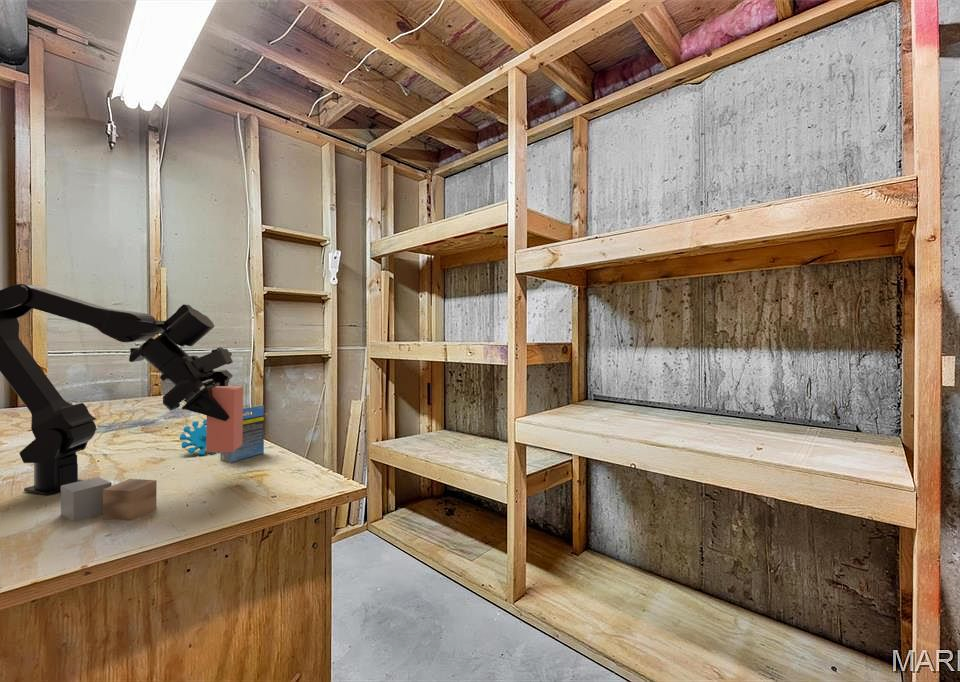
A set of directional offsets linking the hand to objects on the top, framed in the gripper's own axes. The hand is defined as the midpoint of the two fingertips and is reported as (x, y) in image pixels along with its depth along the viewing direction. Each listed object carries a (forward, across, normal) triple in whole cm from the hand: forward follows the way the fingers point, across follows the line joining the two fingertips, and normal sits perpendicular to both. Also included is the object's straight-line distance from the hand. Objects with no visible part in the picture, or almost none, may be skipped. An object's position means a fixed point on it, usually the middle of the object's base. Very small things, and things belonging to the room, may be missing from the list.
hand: (232, 416), depth 88 cm
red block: (+4, 0, +6) cm, 7 cm away
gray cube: (-3, -13, +23) cm, 26 cm away
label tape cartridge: (+7, +17, +12) cm, 22 cm away
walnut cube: (+2, -14, +18) cm, 22 cm away
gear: (0, +22, +19) cm, 30 cm away
